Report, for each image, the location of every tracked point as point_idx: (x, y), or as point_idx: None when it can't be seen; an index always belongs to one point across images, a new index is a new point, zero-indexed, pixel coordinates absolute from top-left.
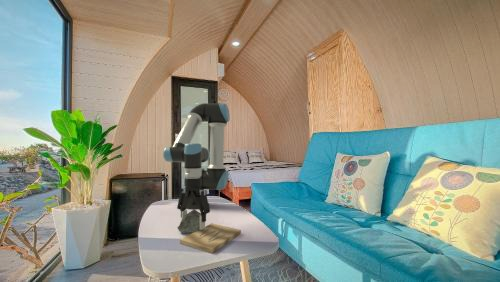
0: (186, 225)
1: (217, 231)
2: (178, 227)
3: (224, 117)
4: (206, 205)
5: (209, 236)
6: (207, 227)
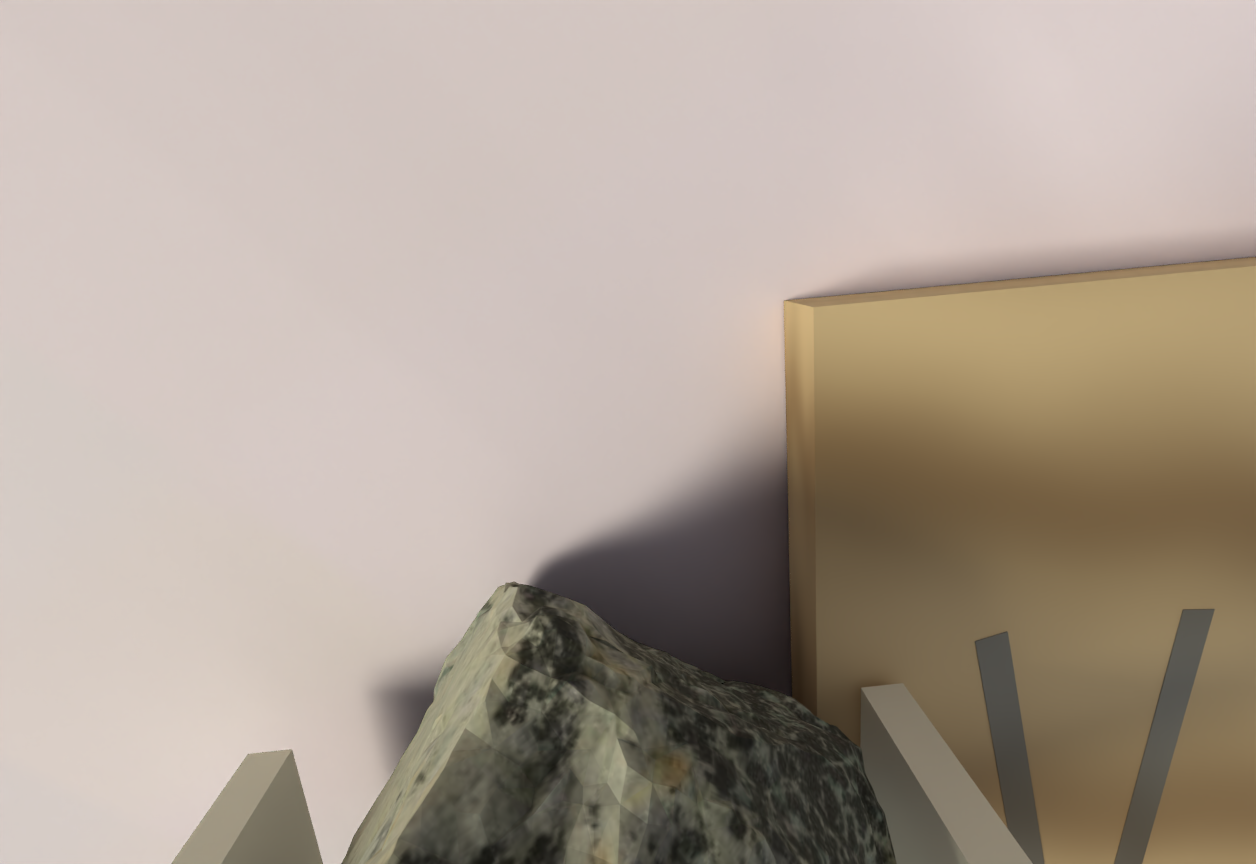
0: None
1: (1254, 624)
2: None
3: None
4: None
5: (1213, 861)
6: (902, 593)
